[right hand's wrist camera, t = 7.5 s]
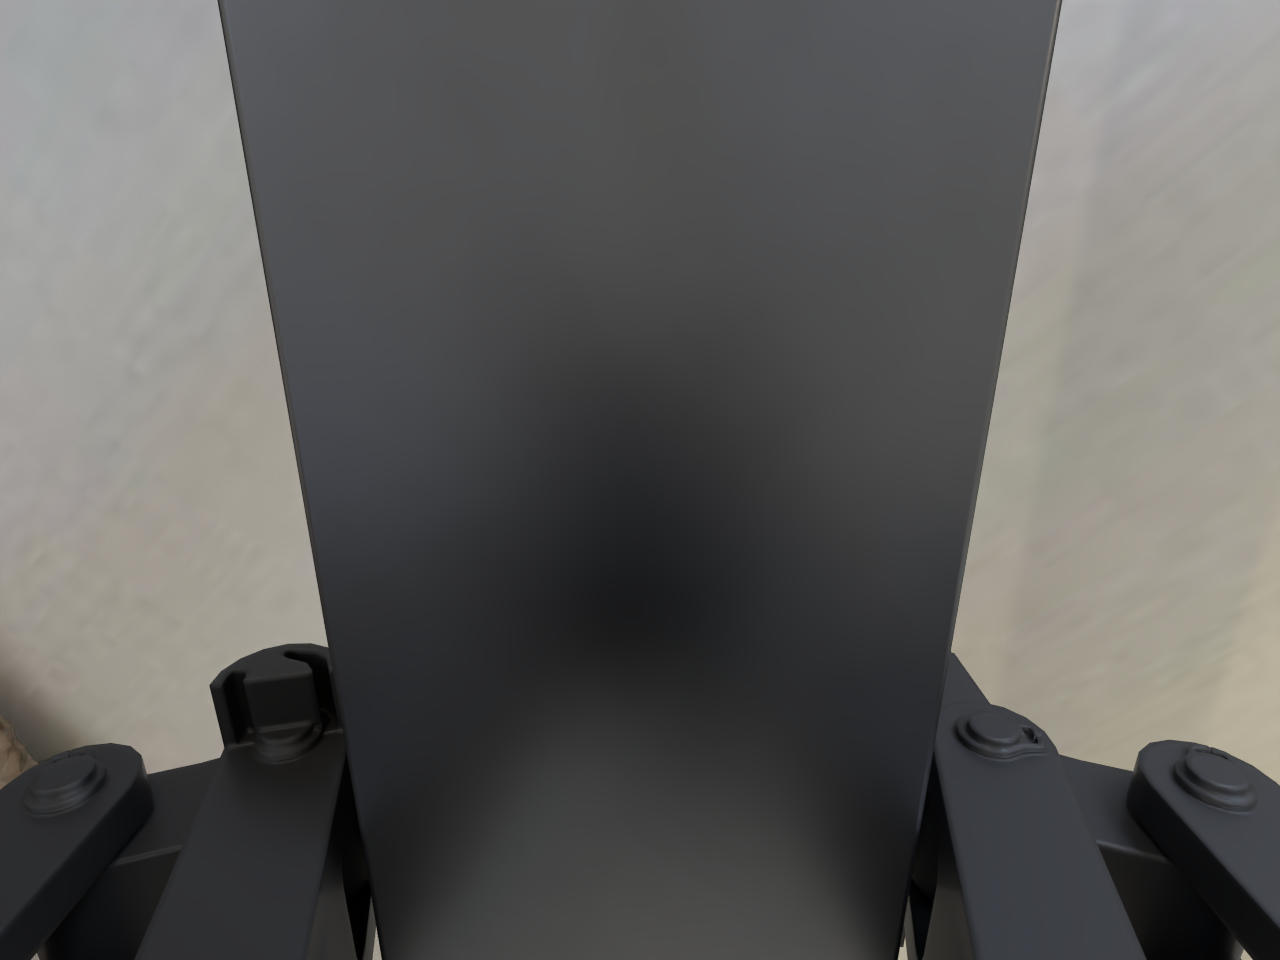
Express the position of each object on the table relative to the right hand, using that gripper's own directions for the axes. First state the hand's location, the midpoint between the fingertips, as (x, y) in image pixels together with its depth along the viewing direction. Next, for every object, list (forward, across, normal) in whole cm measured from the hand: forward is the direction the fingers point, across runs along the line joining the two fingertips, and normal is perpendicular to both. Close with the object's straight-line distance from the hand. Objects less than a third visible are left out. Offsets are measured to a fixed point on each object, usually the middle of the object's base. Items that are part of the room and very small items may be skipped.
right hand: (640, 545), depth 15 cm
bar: (+1, 0, -9) cm, 9 cm away
